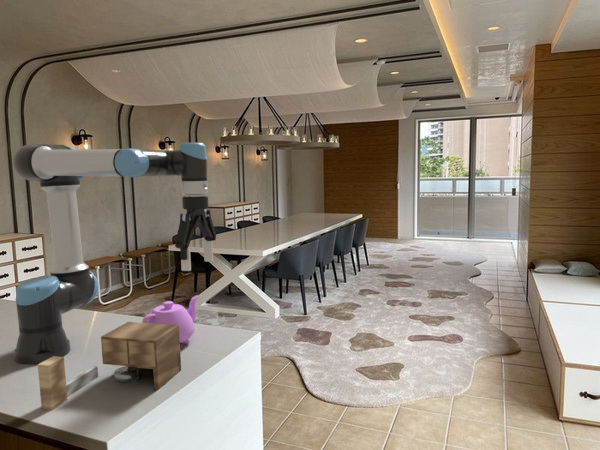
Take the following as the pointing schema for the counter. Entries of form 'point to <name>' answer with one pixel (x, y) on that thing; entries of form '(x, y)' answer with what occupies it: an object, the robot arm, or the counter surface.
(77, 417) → the counter surface
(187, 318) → the teapot
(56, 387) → the wood and metal l-shape
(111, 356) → the small wooden cabinet
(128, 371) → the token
